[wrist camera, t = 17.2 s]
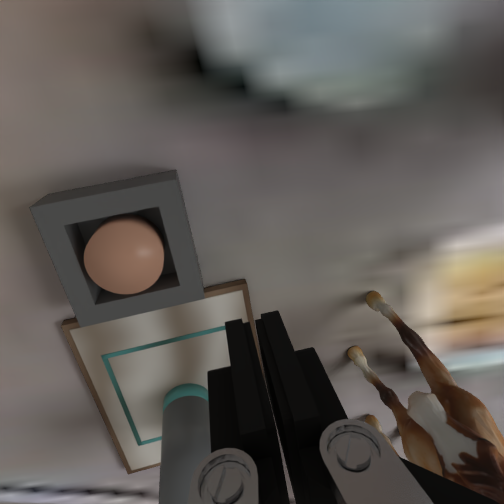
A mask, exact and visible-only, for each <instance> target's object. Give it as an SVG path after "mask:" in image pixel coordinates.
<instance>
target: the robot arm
mask: <svg viewBox="0 0 504 504" xmlns="http://www.w3.org/2000/svg"><path fill="white" fill-rule="evenodd" d="M255 323H256V329H257V334H258V340H259V345H260V351H261V356H262V362H263V367H264V373H265V378H266V384H267V389H268V393H267V389H266V385H265V381H264V377H263V373H262V369H261V365H260V361H259V357H258V353H257V349H256V345H255V341H254V337H253V333H252V329H251V325H250V321H249V322H245V323H243V321H242V318H241V319H236V320H231V321H227V322H225V329H226V336H227V343H228V351H229V358H230V365H231V366H228V367H223V368H219V369H214V370H210V371H208V372H207V381H208V401H209V421H210V442H211V454H209V455H208V456H206V457H205V458H204V459H203V460H202V461H201V462H200V463H199V465H198V466H197V468H196V470H195V471H194V473H193V477H192V480H191V484H190V491H189V497H188V504H290V503H289V497H288V492H287V486H286V480H285V475H284V469H283V464H282V458H281V452H280V447H279V441H278V436H277V430H276V426H277V429H278V433H279V437H280V441H281V445H282V449H283V453H284V457H285V461H286V465H287V469H288V473H289V477H290V481H291V485H292V489H293V493H294V497H295V501H296V504H500V503H498V502H496V501H494V500H493V499H490V498H488V497H486V496H484V495H482V494H479V493H477V492H475V491H473V490H471V489H468V488H466V487H464V486H462V485H460V484H458V483H455V482H453V481H451V480H449V479H447V478H444V477H442V476H440V475H438V474H436V473H434V472H431V471H429V470H427V469H425V468H423V467H420V466H418V465H416V464H414V463H412V462H409V461H407V460H405V459H403V458H401V457H399V456H397V454H396V453H395V452H394V450H393V449H392V448H391V446H390V445H389V444H388V442H387V441H386V440H385V438H384V437H383V436H382V435H381V434H380V433H379V432H378V430H377V429H376V428H374V427H373V426H371V425H369V424H368V423H366V422H363V421H360V420H356V419H348V417H347V415H346V413H345V411H344V409H343V407H342V405H341V403H340V401H339V399H338V397H337V394H336V392H335V390H334V388H333V386H332V384H331V382H330V380H329V378H328V376H327V374H326V372H325V370H324V367H323V365H322V363H321V361H320V359H319V357H318V355H317V353H316V351H315V349H314V348H313V347H311V348H307V349H302V350H298V351H294V349H293V346H292V344H291V341H290V339H289V336H288V334H287V331H286V329H285V326H284V324H283V321H282V319H281V316H280V314H279V311H278V310H277V311H273V312H268V313H264V314H261V319H258V320H255ZM268 394H269V397H268ZM269 398H270V401H269ZM270 402H271V405H270ZM271 406H272V409H271ZM272 410H273V413H272ZM273 414H274V417H273ZM274 418H275V421H274ZM275 422H276V426H275Z"/></svg>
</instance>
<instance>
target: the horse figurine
mask: <svg viewBox="0 0 504 504" xmlns="http://www.w3.org/2000/svg"><path fill="white" fill-rule="evenodd" d="M366 302H367V304H368V306H369V307H370V308H372V309H373V310H375V311H377V312H379V311H380V312H381V313H382V315H383V316H385V317H387V318H388V319H389V320H390V321H391V322H392V324H393V325H394V326H395V327H396V329H397V330H398V332H399V334H400V336H401V339H402V341H403V342H404V343H405V344H406V345H407V346H408V347H409V349H410V350H411V352H412V353H413V355H414V357H415V358H416V360H417V362H418V364H419V366H420V368H421V371H422V373H423V375H424V377H425V378H426V380H427V382H428V384H429V386H430V388H431V394H430V393H423V392H420V391H416V392H414V393H412V394H411V395H410V396H409V398H408V410H407V409H406V408H405V407H404V406H403V405H402V404H401V403H400V402H399V399H398V397H397V395H396V394H395V393H394V391H393V390H392V389H390V388H387V387H386V386H385V385H384V384H383V383H382V382H381V381H380V380H379V378H378V377H377V375H376V373H375V372H373V371H372V370H371V369H370V368H369V367H368V365H367V360H366V358H365V356H364V355H363V353H362V350H361V349H360V348H359V347H358V346H353V347H351V348H350V349H349V350H348V353H347V354H348V356H349V357H350V359H352V360H353V361H354V364H355V365H356V366H358V367H360V368H361V370H362V371H363V374H364V377H365V378H366V380H367V381H368V382H370V383H371V384H373V385H374V386H375V387H376V389H377V390H378V391H379V393H380V398H381V400H382V401H383V403H384V404H385V405H386V406H388V407H389V408H390V409H391V410H392V412H393V414H394V416H395V419H396V421H397V427H398V429H399V434H400V436H401V438H402V444H403V449H404V453H405V455H406V457H407V459H408V460H409V462H412V463H414V464H416V465H418V466H420V467H423V468H425V469H427V470H429V471H431V472H434V473H436V474H438V475H440V476H442V477H444V478H447V479H449V480H451V481H453V482H455V483H458V484H460V485H462V486H464V487H466V488H468V489H471V490H473V491H475V492H477V493H479V494H482V495H484V496H486V497H488V498H490V499H493V500H494V501H496V502H498V503H500V504H504V438H503V436H502V434H501V433H500V431H499V430H498V428H497V426H496V424H495V422H494V420H493V418H492V416H491V414H490V413H489V411H488V410H487V408H486V407H485V405H484V404H483V403H482V402H481V401H480V400H479V399H478V398H476V397H475V396H474V395H472V394H471V393H469V392H467V391H465V390H464V389H461V388H459V387H458V386H457V384H456V383H455V381H454V379H453V378H452V376H451V375H450V373H449V371H448V370H447V369H446V367H445V366H444V365H443V364H442V363H441V361H440V360H439V359H438V358H437V357H436V356H435V355H434V354H433V353H432V352H431V351H430V350H429V348H428V347H427V346H426V345H425V343H424V342H423V340H422V339H421V337H420V336H419V335H418V334H417V333H416V332H414V331H413V330H412V329H410V328H409V327H408V326H407V325H406V324H405V323H404V322H403V321H402V320H401V319H400V318H399V317H398V315H397V314H396V313H395V312H394V311H393V308H392V307H391V306H390V305H388V304H386V303H385V300H384V299H383V298H382V297H381V295H380V294H379V293H378V292H376V291H372V292H370V293H369V294H368V295H367V296H366ZM365 422H366V423H368V424H369V425H371V426H373V427H374V428H376V429H377V430H378V432H379V433H380V434H381V435H382V436H383V437H384V438H385V440H386V441H387V442H388V444H389V445H390V446H391V448H392V449H393V450H394V452H395V453H396V454H397V452H396V451H395V449H394V447H393V446H392V444H391V441H390V440H389V438H388V437H387V436H386V435H384V434H383V433H382V428H381V425H380V424H379V422H378V420H377V419H376V418H375V416H373V415H368V416H367V417H366V419H365ZM397 456H399V455H398V454H397Z"/></svg>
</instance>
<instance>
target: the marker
mask: <svg viewBox="0 0 504 504" xmlns="http://www.w3.org/2000/svg"><path fill="white" fill-rule="evenodd" d="M209 454H211V442H210V421H209V401H208V390H207V389H206V388H205V387H203V386H201V385H198V384H193V383H187V384H182V385H179V386H176V387H174V388H173V389H171V390H170V391H169V392H168V393H167V394H166V396H165V398H164V401H163V419H162V441H161V463H160V485H159V504H188V497H189V491H190V484H191V480H192V477H193V473H194V471H195V470H196V468H197V466H198V465H199V463H200V462H201V461H202V460H203V459H204V458H205V457H206V456H208V455H209Z"/></svg>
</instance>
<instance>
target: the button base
mask: <svg viewBox="0 0 504 504" xmlns="http://www.w3.org/2000/svg"><path fill="white" fill-rule="evenodd" d="M29 208H30V210H31V213H32V215H33V217H34V220H35V222H36V224H37V227H38V229H39V232H40V234H41V236H42V239H43V241H44V243H45V246H46V248H47V250H48V253H49V255H50V257H51V260H52V262H53V264H54V267H55V269H56V271H57V274H58V276H59V278H60V281H61V283H62V285H63V288H64V290H65V292H66V295H67V297H68V299H69V302H70V304H71V306H72V309H73V311H74V313H75V316H76V318H77V320H78V323H79V325H80V327H81V328H82V327H86V326H90V325H95V324H99V323H103V322H107V321H112V320H116V319H120V318H125V317H129V316H133V315H138V314H142V313H146V312H151V311H155V310H159V309H163V308H168V307H172V306H176V305H181V304H185V303H189V302H194V301H198V300H202V299H205V294H204V287H203V280H202V275H201V271H200V267H199V262H198V258H197V254H196V250H195V246H194V241H193V237H192V233H191V229H190V225H189V221H188V216H187V212H186V208H185V204H184V200H183V196H182V191H181V187H180V183H179V179H178V175H177V170H173V171H168V172H162V173H157V174H152V175H147V176H141V177H136V178H131V179H126V180H120V181H115V182H110V183H104V184H99V185H94V186H89V187H83V188H78V189H73V190H68V191H62V192H57V193H52V194H48V195H46V196H45V197H43V198H42V199H41V200H39V201H38V202H36V203H35V204H34V205H32V206H31V207H29ZM119 214H134V215H139V216H141V217H144V218H146V219H148V220H149V221H151V222H152V223H153V224H154V225H155V226H156V227H157V228H158V229H159V231H160V232H161V234H162V236H163V239H164V244H165V251H164V263H163V269H162V272H161V275H160V276H159V278H158V279H157V281H156V282H155V283H154V284H153V285H152V286H150V287H149V288H147V289H146V290H143V291H141V292H138V293H134V294H117V293H113V292H110V291H107V290H105V289H103V288H101V287H100V286H99V285H97V284H96V283H95V282H94V281H93V280H92V279H91V277H90V276H89V274H88V273H87V271H86V268H85V265H84V252H85V248H86V246H87V244H88V242H89V240H90V239H91V237H92V236H93V234H94V232H95V231H96V229H97V228H98V226H99V225H100V224H101V223H102V222H104V221H105V220H106V219H108V218H110V217H112V216H115V215H119Z"/></svg>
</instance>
